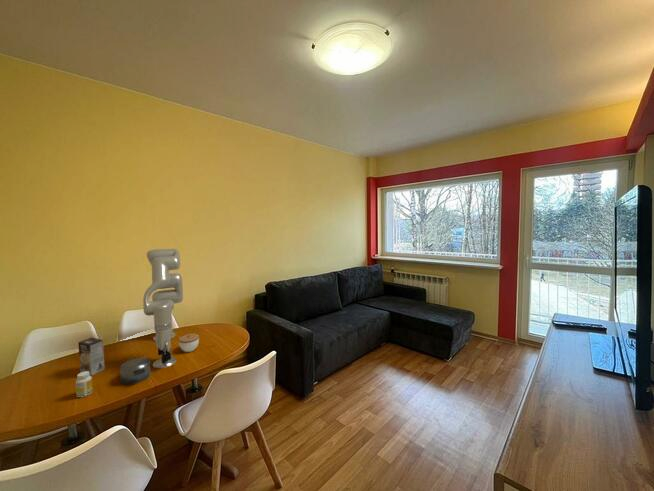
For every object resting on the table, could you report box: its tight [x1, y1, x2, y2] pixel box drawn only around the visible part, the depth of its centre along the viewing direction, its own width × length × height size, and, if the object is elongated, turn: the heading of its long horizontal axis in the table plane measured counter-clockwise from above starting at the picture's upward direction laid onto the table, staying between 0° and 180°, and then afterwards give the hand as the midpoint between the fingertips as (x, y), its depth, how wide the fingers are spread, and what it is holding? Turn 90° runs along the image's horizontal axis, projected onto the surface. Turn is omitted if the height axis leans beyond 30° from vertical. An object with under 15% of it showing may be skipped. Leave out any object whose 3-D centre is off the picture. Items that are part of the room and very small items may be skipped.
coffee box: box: [78, 336, 106, 376], centre depth 138 cm, size 9×6×16 cm
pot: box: [119, 357, 152, 385], centre depth 133 cm, size 16×12×7 cm
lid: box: [152, 352, 177, 369], centre depth 147 cm, size 11×11×6 cm
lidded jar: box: [178, 333, 200, 353], centre depth 162 cm, size 11×11×9 cm
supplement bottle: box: [75, 371, 93, 398], centre depth 120 cm, size 5×5×10 cm
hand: (164, 357), depth 146 cm, fingers open, 9 cm apart
